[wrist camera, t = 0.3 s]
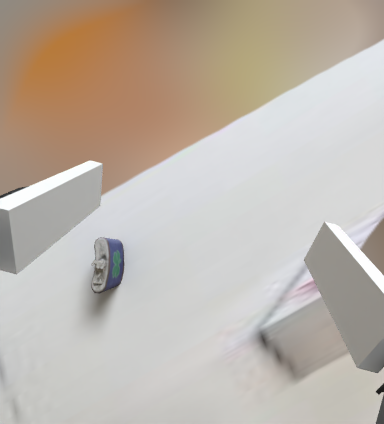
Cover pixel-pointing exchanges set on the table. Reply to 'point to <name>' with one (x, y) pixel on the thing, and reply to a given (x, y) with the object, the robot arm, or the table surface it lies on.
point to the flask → (107, 264)
